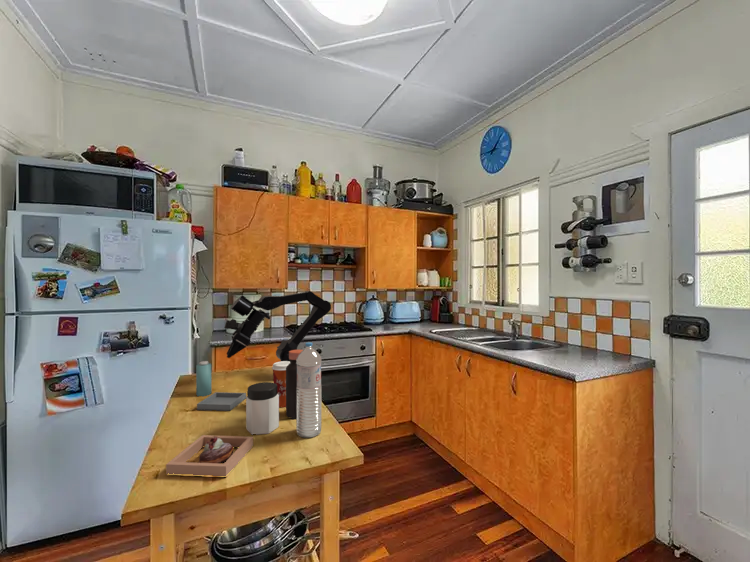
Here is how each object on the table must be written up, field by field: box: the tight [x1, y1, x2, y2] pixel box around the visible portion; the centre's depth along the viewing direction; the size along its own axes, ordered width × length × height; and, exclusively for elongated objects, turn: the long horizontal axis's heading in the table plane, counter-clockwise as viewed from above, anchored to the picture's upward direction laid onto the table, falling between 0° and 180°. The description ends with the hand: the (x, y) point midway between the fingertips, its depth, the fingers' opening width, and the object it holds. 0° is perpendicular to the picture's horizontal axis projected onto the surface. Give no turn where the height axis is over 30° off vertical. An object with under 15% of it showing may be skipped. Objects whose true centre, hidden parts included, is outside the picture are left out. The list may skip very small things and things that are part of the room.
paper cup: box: [271, 360, 290, 409], centre depth 113 cm, size 8×8×14 cm
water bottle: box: [295, 341, 322, 439], centre depth 92 cm, size 7×7×25 cm
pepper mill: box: [195, 360, 213, 397], centre depth 123 cm, size 5×5×12 cm
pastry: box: [198, 435, 235, 464], centre depth 79 cm, size 8×8×5 cm
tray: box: [196, 391, 247, 412], centre depth 113 cm, size 11×11×2 cm
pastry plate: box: [165, 434, 254, 476], centre depth 78 cm, size 13×13×2 cm
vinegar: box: [285, 349, 304, 420], centre depth 104 cm, size 7×7×20 cm
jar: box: [245, 381, 280, 436], centre depth 95 cm, size 9×8×12 cm
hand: (227, 356), depth 130 cm, fingers open, 9 cm apart
